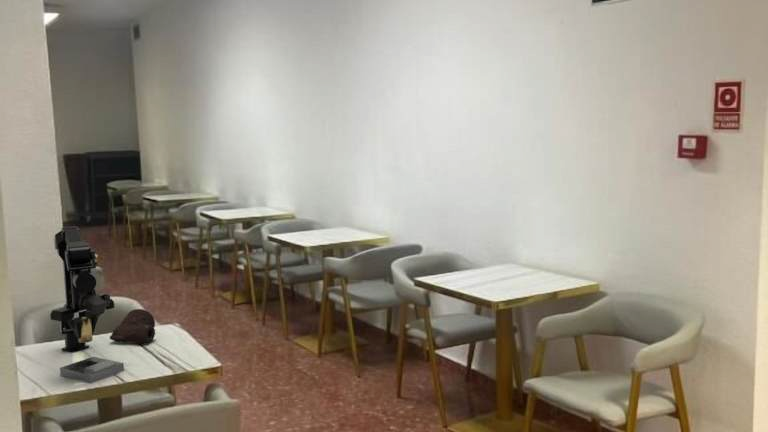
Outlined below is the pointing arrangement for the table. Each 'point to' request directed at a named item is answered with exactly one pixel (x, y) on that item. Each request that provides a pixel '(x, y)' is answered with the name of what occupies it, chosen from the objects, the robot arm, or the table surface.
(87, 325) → the tan rectangular block
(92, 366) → the metal square frame
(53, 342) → the table surface
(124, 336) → the dark brown rounded lump
